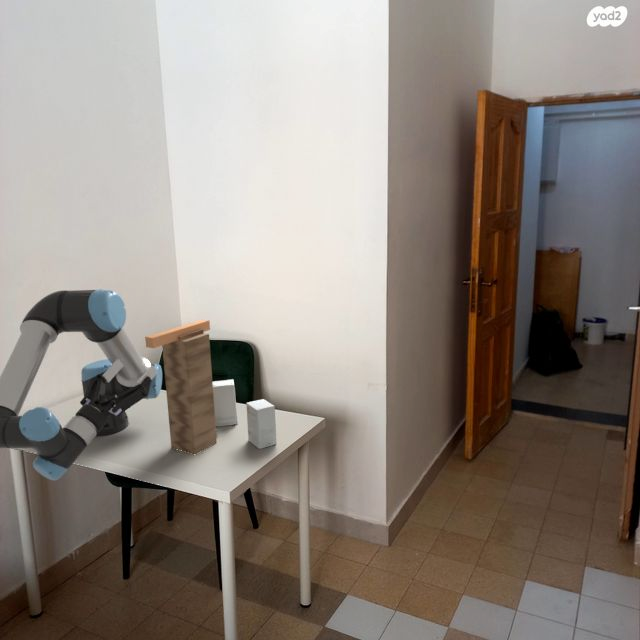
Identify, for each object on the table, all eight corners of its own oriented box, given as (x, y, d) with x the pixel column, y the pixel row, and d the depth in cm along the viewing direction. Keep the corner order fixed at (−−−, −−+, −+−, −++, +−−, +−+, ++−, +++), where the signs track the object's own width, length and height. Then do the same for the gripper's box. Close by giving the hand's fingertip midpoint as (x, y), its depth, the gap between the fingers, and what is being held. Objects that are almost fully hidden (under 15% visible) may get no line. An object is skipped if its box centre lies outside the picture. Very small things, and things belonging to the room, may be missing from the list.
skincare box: (237, 418, 211) (234, 378, 207) (237, 425, 205) (235, 384, 202) (213, 420, 210) (210, 380, 206) (213, 427, 204) (210, 386, 200)
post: (171, 448, 188) (161, 334, 180) (193, 436, 197) (184, 327, 188) (195, 454, 183) (185, 337, 175) (216, 442, 192) (208, 330, 183)
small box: (277, 444, 189) (275, 405, 186) (259, 449, 186) (256, 410, 183) (265, 435, 196) (263, 398, 193) (247, 440, 193) (245, 402, 190)
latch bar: (146, 347, 171) (145, 336, 170) (202, 328, 191) (202, 319, 190) (153, 348, 169) (152, 338, 168) (210, 329, 189) (209, 320, 188)
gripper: (63, 424, 162) (113, 368, 175) (126, 442, 149) (175, 381, 162) (47, 406, 157) (100, 350, 170) (112, 423, 145) (163, 361, 158)
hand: (137, 365), depth 166 cm, fingers open, 13 cm apart
